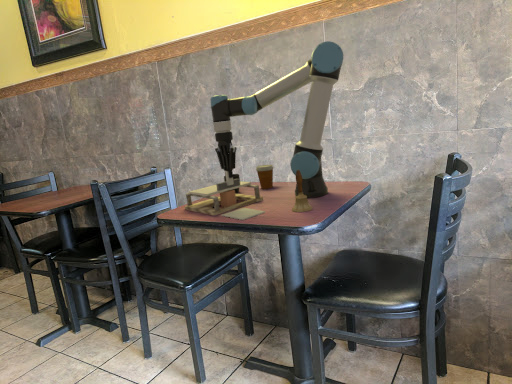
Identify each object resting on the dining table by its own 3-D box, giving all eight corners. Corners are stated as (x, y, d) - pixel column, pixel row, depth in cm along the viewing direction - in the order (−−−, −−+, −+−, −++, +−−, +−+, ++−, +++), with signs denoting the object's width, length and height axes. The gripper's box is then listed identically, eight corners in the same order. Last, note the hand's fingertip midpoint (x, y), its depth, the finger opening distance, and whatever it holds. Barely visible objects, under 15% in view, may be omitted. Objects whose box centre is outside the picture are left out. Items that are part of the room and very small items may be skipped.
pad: (265, 212, 150) (265, 211, 150) (242, 220, 143) (242, 219, 143) (243, 208, 161) (243, 207, 161) (221, 216, 153) (221, 214, 153)
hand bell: (311, 211, 143) (307, 171, 140) (290, 212, 145) (285, 172, 142) (314, 206, 151) (310, 167, 148) (293, 207, 153) (289, 169, 150)
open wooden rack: (263, 199, 173) (261, 184, 172) (214, 215, 156) (211, 198, 154) (232, 195, 191) (230, 182, 190) (185, 209, 174) (182, 194, 172)
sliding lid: (251, 184, 175) (250, 175, 174) (207, 196, 159) (205, 187, 158) (232, 182, 186) (230, 174, 185) (189, 193, 170) (187, 185, 170)
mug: (243, 189, 206) (241, 172, 204) (240, 193, 194) (237, 175, 193) (229, 190, 207) (226, 173, 205) (224, 195, 196) (222, 177, 194)
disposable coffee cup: (254, 189, 200) (252, 167, 198) (264, 185, 208) (262, 164, 206) (269, 189, 195) (266, 167, 192) (278, 185, 202) (276, 164, 200)
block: (236, 204, 170) (234, 190, 169) (228, 207, 167) (225, 192, 166) (230, 203, 174) (228, 189, 172) (221, 206, 171) (219, 191, 169)
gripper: (239, 130, 159) (246, 183, 163) (221, 131, 168) (228, 182, 173) (225, 132, 154) (232, 187, 159) (207, 133, 164) (215, 185, 168)
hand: (230, 184), depth 166 cm, fingers closed
